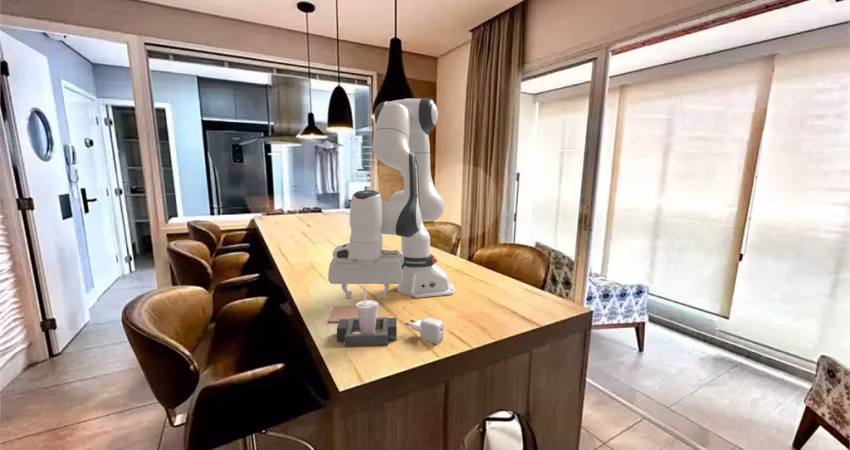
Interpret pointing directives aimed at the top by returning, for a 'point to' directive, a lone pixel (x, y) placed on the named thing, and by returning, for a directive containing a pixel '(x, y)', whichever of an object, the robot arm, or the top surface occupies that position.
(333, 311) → the coaster
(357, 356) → the top surface
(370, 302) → the smoothie
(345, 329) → the grey rectangular frame
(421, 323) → the power adapter
